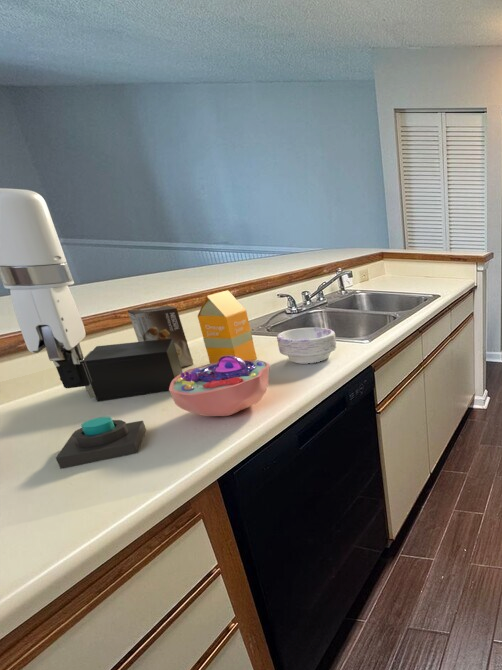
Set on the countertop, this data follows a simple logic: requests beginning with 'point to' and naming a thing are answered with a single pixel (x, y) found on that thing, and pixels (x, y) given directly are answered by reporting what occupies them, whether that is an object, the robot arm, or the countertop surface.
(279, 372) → the countertop surface
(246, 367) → the cell model
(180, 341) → the coffee box
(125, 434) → the control block
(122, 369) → the cabinet
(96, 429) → the button
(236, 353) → the orange juice
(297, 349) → the paper bowls
